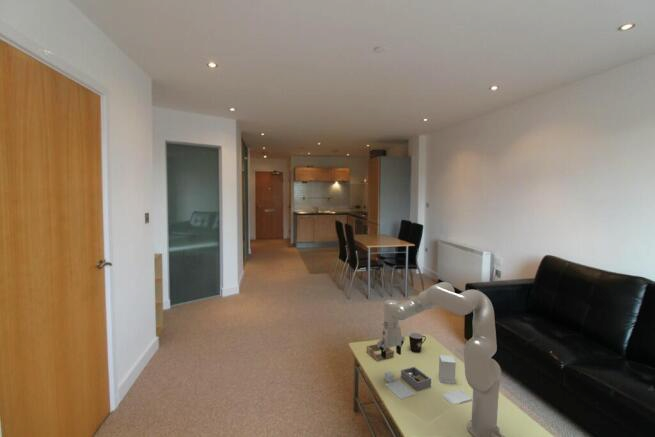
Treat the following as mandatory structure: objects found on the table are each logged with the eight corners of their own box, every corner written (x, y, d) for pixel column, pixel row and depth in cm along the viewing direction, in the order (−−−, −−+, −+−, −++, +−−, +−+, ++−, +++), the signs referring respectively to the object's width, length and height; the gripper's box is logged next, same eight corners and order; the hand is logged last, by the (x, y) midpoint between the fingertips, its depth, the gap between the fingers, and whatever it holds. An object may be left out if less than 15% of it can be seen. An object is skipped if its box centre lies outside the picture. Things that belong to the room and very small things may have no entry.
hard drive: (459, 389, 160) (440, 393, 155) (472, 398, 152) (452, 404, 148) (459, 392, 160) (440, 397, 156) (472, 401, 152) (452, 407, 148)
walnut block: (425, 385, 162) (425, 378, 162) (420, 388, 160) (420, 381, 160) (419, 382, 166) (419, 374, 165) (414, 384, 163) (414, 377, 163)
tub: (430, 388, 162) (431, 378, 162) (417, 392, 158) (417, 383, 158) (413, 375, 174) (414, 366, 173) (400, 378, 170) (401, 370, 169)
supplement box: (455, 386, 164) (456, 362, 163) (440, 384, 166) (441, 361, 165) (452, 378, 171) (453, 356, 171) (438, 376, 173) (439, 354, 172)
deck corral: (393, 357, 193) (393, 351, 192) (377, 361, 188) (377, 355, 187) (382, 348, 204) (382, 342, 203) (366, 352, 199) (366, 346, 198)
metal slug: (413, 379, 168) (414, 373, 168) (409, 381, 167) (409, 374, 166) (410, 376, 170) (410, 370, 170) (405, 378, 169) (405, 371, 169)
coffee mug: (410, 353, 198) (410, 338, 197) (407, 347, 207) (407, 332, 206) (428, 354, 198) (429, 338, 197) (424, 347, 206) (425, 332, 206)
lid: (415, 396, 155) (415, 387, 155) (400, 401, 151) (400, 392, 151) (393, 377, 171) (393, 369, 170) (380, 381, 167) (380, 373, 167)
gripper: (381, 329, 158) (381, 362, 158) (409, 323, 165) (408, 355, 166) (373, 324, 164) (373, 355, 165) (400, 319, 172) (399, 349, 172)
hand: (391, 355), depth 165 cm, fingers open, 9 cm apart
